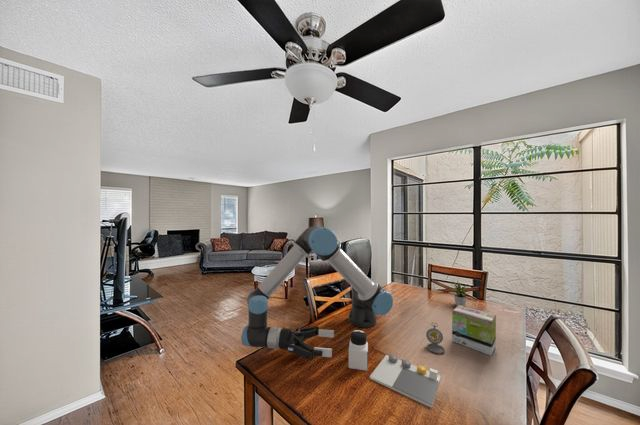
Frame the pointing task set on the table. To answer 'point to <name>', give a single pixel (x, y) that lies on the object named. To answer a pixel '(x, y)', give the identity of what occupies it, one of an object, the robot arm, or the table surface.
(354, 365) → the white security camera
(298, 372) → the table surface
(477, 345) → the tea box
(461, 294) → the house plant
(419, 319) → the table surface
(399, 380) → the board
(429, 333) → the pocket watch
